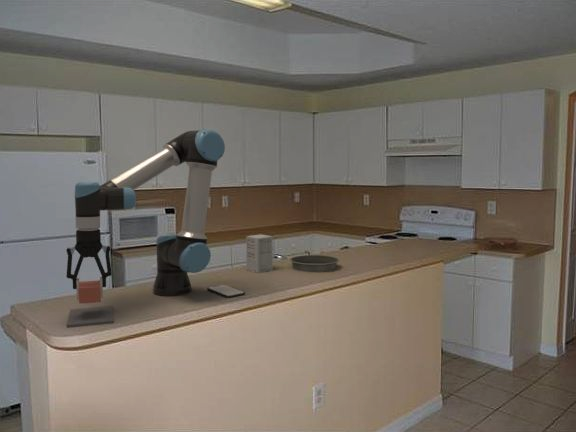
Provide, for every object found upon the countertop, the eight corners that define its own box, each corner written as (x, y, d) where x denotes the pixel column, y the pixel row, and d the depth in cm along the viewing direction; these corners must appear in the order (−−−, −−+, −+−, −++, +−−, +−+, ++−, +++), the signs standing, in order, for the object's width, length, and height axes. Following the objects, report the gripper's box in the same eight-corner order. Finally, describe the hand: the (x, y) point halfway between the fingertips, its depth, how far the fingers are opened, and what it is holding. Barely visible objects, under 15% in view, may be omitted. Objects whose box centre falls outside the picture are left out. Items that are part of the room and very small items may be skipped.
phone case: (246, 296, 200) (224, 288, 212) (246, 292, 200) (224, 284, 212) (227, 300, 194) (205, 291, 206) (227, 296, 194) (205, 287, 206)
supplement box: (261, 267, 252) (261, 234, 250) (273, 270, 245) (273, 236, 244) (245, 270, 246) (245, 235, 244) (257, 273, 239) (257, 238, 237)
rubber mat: (112, 307, 180) (112, 305, 180) (113, 322, 164) (113, 320, 164) (70, 311, 176) (70, 309, 176) (66, 327, 159) (66, 325, 159)
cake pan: (316, 261, 270) (316, 253, 270) (349, 269, 251) (349, 260, 251) (279, 267, 255) (279, 258, 255) (312, 275, 236) (312, 266, 236)
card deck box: (100, 301, 165) (100, 286, 165) (79, 303, 163) (78, 288, 162) (100, 294, 175) (99, 280, 174) (79, 296, 172) (79, 281, 172)
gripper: (119, 226, 173) (120, 292, 176) (56, 228, 167) (59, 297, 169) (119, 229, 166) (121, 298, 169) (54, 231, 160) (57, 302, 162)
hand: (90, 297), depth 169 cm, fingers closed on card deck box, 6 cm apart
